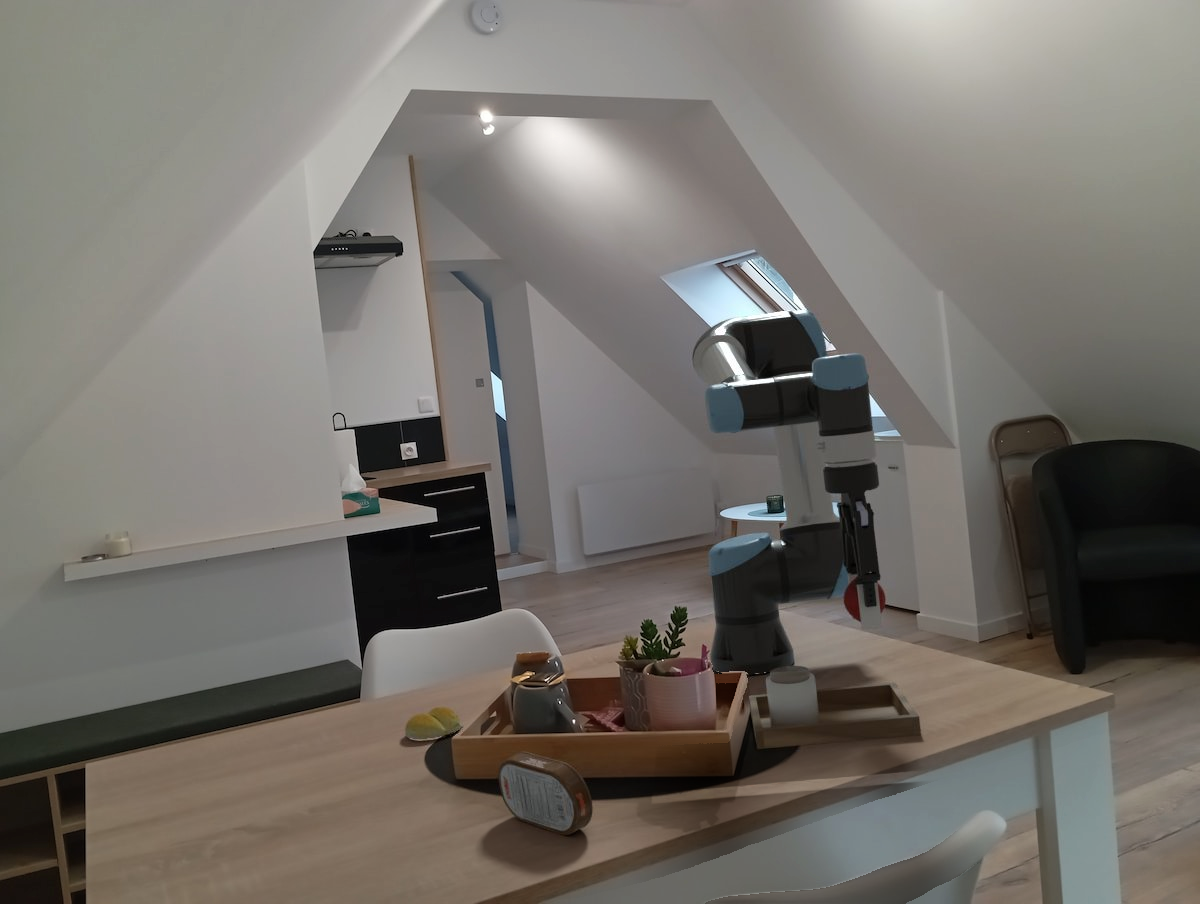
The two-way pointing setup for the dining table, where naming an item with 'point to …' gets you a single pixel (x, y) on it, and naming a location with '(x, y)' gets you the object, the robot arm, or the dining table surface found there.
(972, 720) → the dining table surface
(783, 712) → the jar
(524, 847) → the dining table surface
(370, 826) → the dining table surface
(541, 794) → the tin
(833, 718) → the wooden tray
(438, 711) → the yellow rounded lump
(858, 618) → the onion
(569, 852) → the dining table surface
